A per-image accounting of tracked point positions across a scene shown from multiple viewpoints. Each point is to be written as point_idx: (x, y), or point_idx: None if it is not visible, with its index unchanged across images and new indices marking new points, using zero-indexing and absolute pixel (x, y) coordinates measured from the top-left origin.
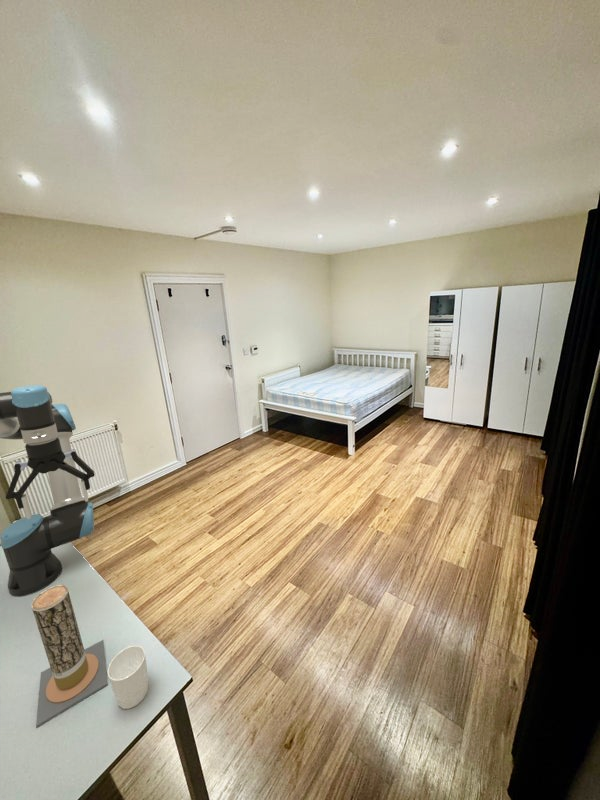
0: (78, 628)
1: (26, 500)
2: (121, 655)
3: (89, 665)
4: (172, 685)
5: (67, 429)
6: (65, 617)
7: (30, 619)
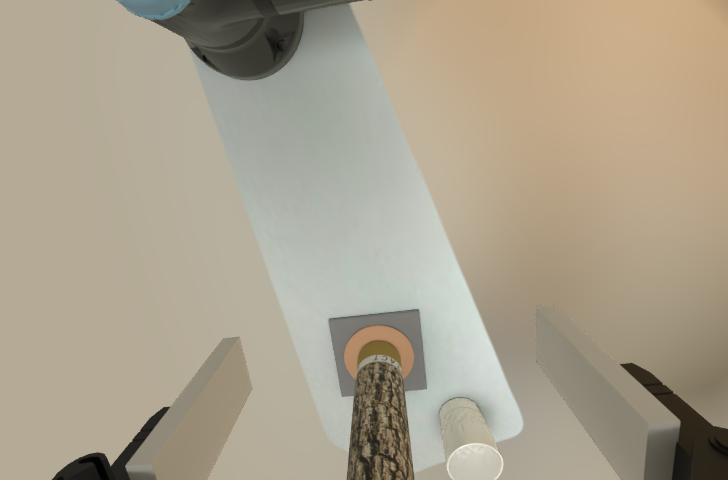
0: (406, 413)
1: (192, 471)
2: (465, 439)
3: (401, 353)
4: (509, 430)
5: None
6: None
7: (274, 175)
